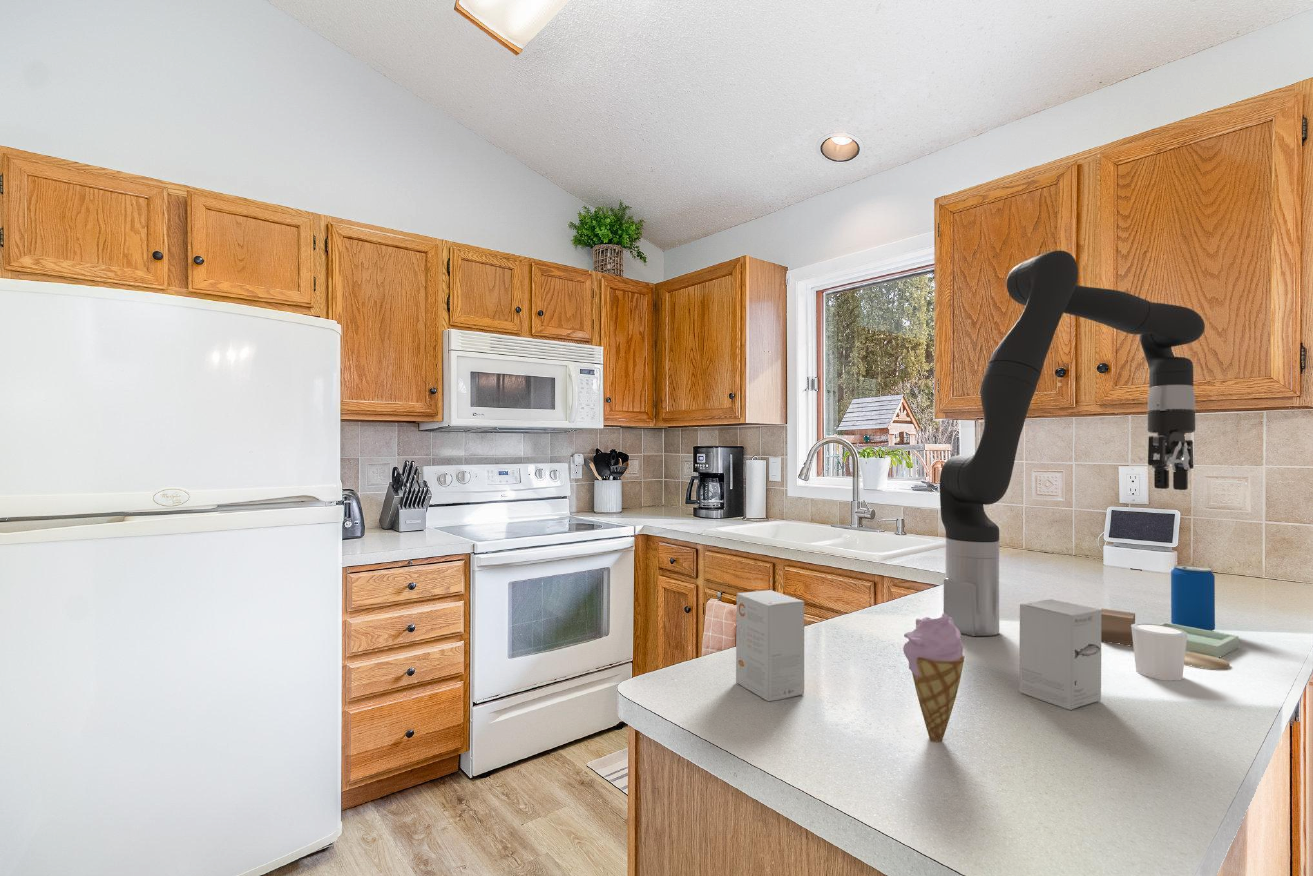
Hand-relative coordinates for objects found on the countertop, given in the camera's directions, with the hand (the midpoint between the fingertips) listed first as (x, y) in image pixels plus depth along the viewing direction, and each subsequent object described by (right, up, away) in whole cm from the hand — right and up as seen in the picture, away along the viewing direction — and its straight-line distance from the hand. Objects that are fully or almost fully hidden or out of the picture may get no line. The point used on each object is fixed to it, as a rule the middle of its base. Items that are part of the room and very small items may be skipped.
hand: (1171, 489), depth 128 cm
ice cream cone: (-71, -25, -54) cm, 93 cm away
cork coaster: (-15, -27, -24) cm, 39 cm away
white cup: (-27, -26, -30) cm, 48 cm away
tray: (-9, -26, -15) cm, 32 cm away
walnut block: (-20, -27, -13) cm, 36 cm away
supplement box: (-48, -26, -40) cm, 68 cm away
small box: (-88, -25, -38) cm, 99 cm away
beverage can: (0, -27, -5) cm, 27 cm away
